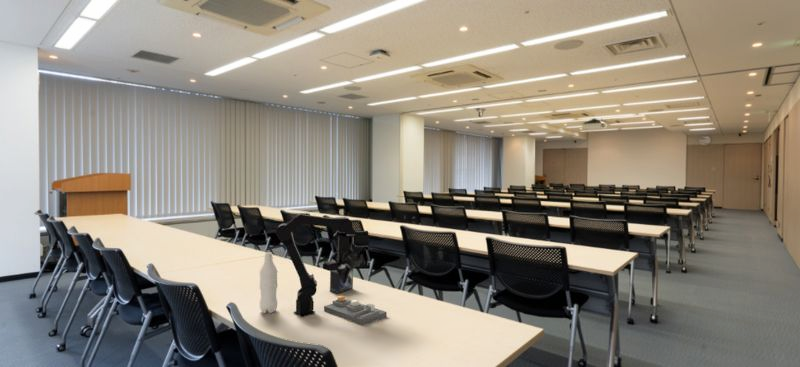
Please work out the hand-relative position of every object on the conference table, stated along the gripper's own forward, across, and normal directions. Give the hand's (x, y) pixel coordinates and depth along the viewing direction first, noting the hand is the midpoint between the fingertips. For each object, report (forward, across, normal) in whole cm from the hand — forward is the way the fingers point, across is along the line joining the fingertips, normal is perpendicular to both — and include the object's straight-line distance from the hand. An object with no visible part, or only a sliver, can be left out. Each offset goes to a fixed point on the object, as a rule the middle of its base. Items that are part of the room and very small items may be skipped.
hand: (344, 283), depth 171 cm
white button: (+8, +1, -6) cm, 11 cm away
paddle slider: (+9, +2, -14) cm, 17 cm away
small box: (+12, +18, +24) cm, 32 cm away
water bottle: (+12, -23, +22) cm, 34 cm away
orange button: (+8, +1, +2) cm, 9 cm away
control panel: (+12, +1, -6) cm, 13 cm away
